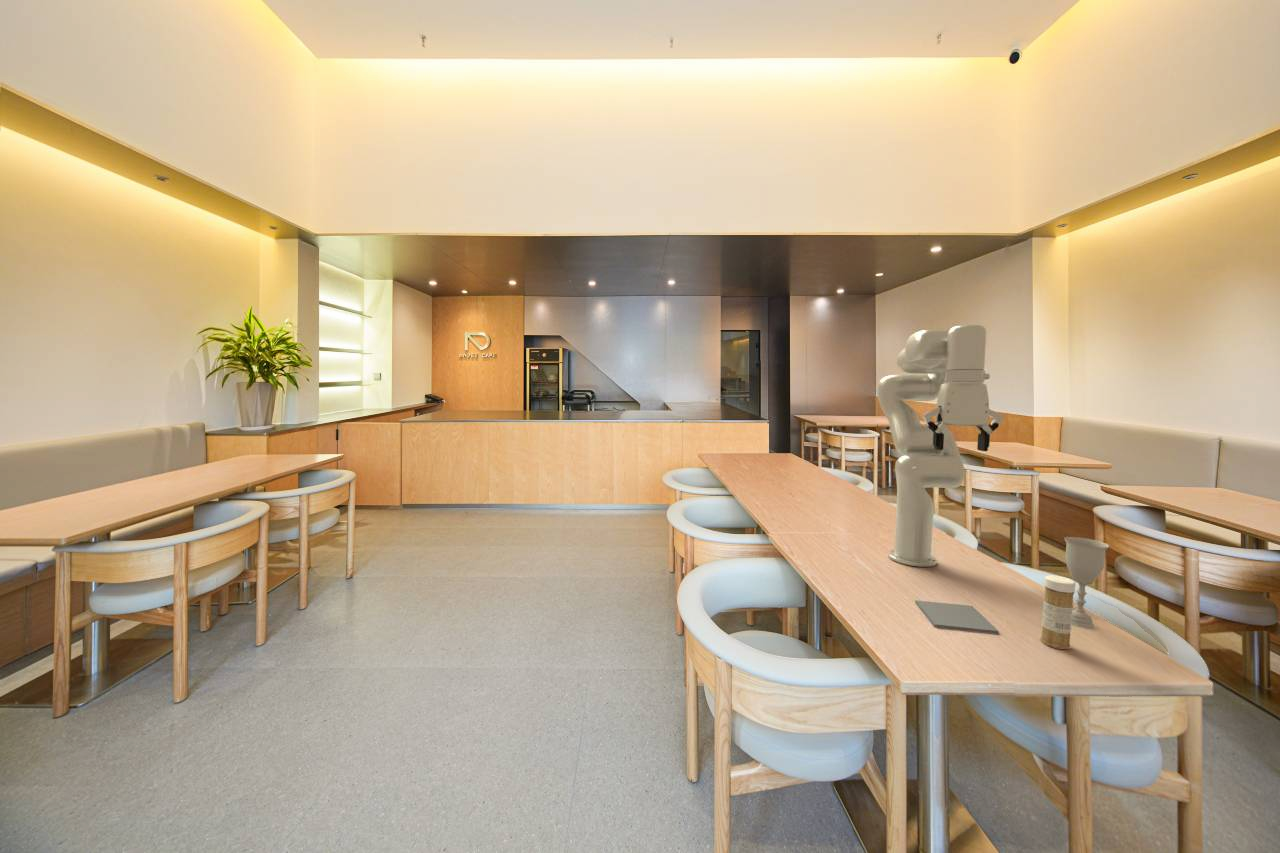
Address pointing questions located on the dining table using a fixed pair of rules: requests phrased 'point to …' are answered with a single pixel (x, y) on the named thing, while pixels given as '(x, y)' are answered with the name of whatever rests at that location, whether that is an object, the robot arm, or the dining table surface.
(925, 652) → the dining table surface
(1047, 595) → the sprinkles bottle
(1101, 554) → the chalice
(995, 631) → the slate mat
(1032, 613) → the dining table surface
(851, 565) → the dining table surface
